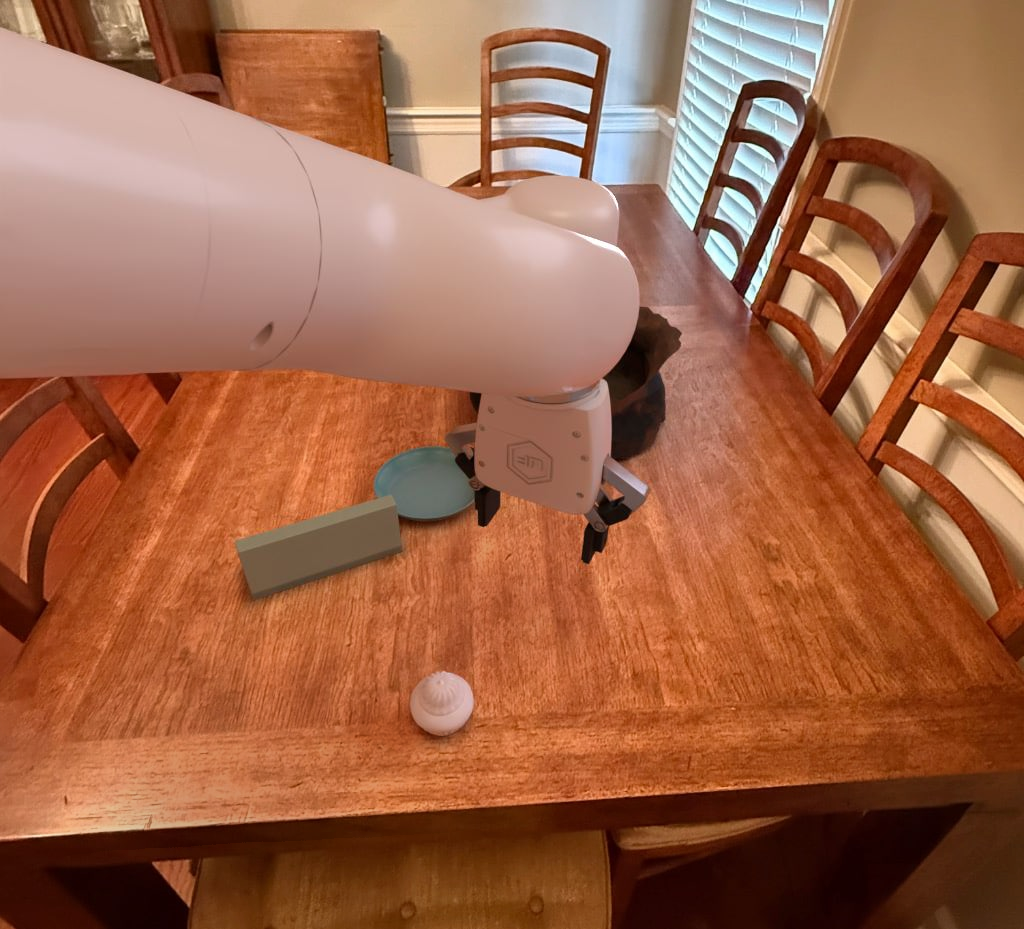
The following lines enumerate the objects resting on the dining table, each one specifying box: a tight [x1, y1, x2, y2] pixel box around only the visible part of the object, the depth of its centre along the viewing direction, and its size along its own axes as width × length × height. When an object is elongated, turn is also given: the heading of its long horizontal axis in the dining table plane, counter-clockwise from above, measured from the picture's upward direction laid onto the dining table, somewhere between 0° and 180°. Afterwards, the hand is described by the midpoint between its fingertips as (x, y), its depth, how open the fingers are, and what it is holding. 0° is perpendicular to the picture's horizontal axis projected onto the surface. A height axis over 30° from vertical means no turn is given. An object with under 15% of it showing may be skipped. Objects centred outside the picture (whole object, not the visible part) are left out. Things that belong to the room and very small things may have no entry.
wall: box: [234, 495, 403, 601], centre depth 82 cm, size 18×5×8 cm, turn 116°
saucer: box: [373, 445, 475, 522], centre depth 94 cm, size 15×15×3 cm
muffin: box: [409, 670, 475, 737], centre depth 66 cm, size 6×6×7 cm
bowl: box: [469, 305, 683, 461], centre depth 107 cm, size 34×33×15 cm
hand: (538, 534), depth 60 cm, fingers open, 9 cm apart
